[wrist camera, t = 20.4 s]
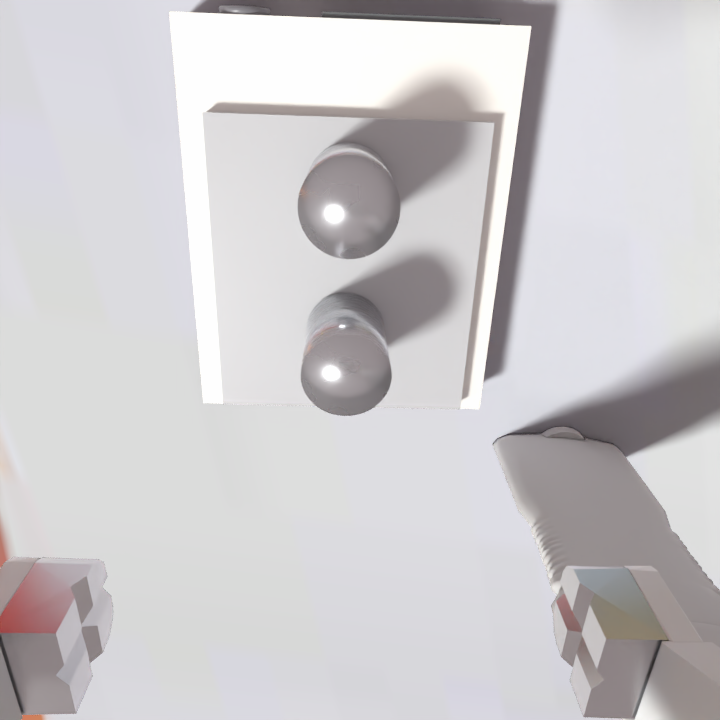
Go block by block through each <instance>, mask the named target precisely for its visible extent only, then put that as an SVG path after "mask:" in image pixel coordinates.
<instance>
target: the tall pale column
mask: <svg viewBox="0 0 720 720" xmlns="http://www.w3.org/2000/svg"><path fill="white" fill-rule="evenodd" d="M493 447H494V450H495V452H496V455H497V457H498V460H499V462H500V465H501V467H502V470H503V473H504V475H505V478H506V481H507V483H508V486H509V488H510V491H511V493H512V496H513V498H514V501H515V503H516V506H517V508H518V511H519V512H520V513H521V515H522V516H523V517H524V518H525V520H526V521H527V522H528V524H529V525H530V526H531V527H532V528H531V533H532V535H533V537H534V539H535V543H536V545H537V546H538V549H539V553H540V555H541V559H542V560H543V564H544V565H545V566H546V571H547V577H548V579H549V580H550V582H549V583H550V586H551V590H552V591H553V592H554V593H555V594H556V595H557V596H556V598H555V600H554V601H553V603H552V605H551V607H552V611H553V613H554V608H555V603H556V600H557V599H559V598H560V597H561V596H562V595H563V594H564V590H563V588H562V585H561V583H560V581H561V577H562V573H563V571H564V569H565V568H566V566H621V567H622V566H652V567H653V568H655V569H656V570H657V571H658V572H659V574H660V576H661V577H662V579H663V580H664V582H665V583H666V585H667V586H668V588H669V590H670V591H671V593H672V594H673V596H674V597H675V599H676V600H677V602H678V604H679V605H680V607H681V608H682V610H683V611H684V613H685V614H686V616H687V618H688V619H689V621H690V622H691V624H692V625H693V627H694V629H695V630H696V632H697V633H698V635H699V636H700V638H701V639H702V641H703V642H712V643H714V644H715V645H717V646H718V647H720V590H719V589H718V588H717V587H716V586H715V585H713V581H712V580H711V579H709V578H708V577H707V574H706V573H705V572H703V571H702V568H701V566H699V565H698V562H697V561H696V560H695V559H694V557H693V556H692V555H690V552H689V551H688V550H687V547H686V546H685V545H684V544H683V542H682V541H681V540H680V538H679V536H678V535H677V534H676V533H674V532H673V531H672V530H671V528H670V525H669V521H668V518H667V515H666V512H665V510H664V509H663V508H662V506H661V505H660V503H659V502H658V501H657V499H656V498H655V496H654V495H653V494H652V492H651V491H650V490H649V488H648V487H647V485H646V484H645V483H644V481H643V480H642V479H641V477H640V476H639V475H638V473H637V472H636V471H635V469H634V468H633V466H632V465H631V464H630V462H629V461H628V460H627V458H626V457H625V455H624V454H623V453H622V451H621V450H620V449H619V448H617V447H616V446H615V445H614V444H611V443H606V442H602V441H598V440H593V439H589V438H585V437H584V438H583V436H582V435H581V434H580V433H579V432H578V431H576V430H575V429H573V428H569V427H554V428H551V429H548V430H546V431H545V432H543V433H534V434H508V435H505V436H503V437H500V438H498V439H497V440H496V441H495V442H494V443H493ZM621 719H622V720H635V719H625V718H621Z"/></svg>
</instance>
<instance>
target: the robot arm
mask: <svg viewBox="0 0 720 720" xmlns="http://www.w3.org/2000/svg"><path fill="white" fill-rule="evenodd" d="M106 578H107V572H106V568H105V564H104V562H103V561H101V560H99V559H73V558H47V557H42V558H30V557H12V558H11V559H9V560H7V561H6V562H5V563H4V564H3V565H2V567H1V568H0V720H21V719H22V715H32V714H33V715H34V714H76V713H77V711H78V708H79V706H80V704H81V702H82V699H83V697H84V695H85V692H86V690H87V688H88V686H89V683H90V681H91V679H92V671H91V666H90V662H92V661H93V660H94V659H95V658H97V657H98V656H99V655H100V654H102V653H103V651H104V649H105V646H106V644H107V641H108V639H109V635H110V631H111V626H112V621H113V603H112V598H111V595H110V594H109V593H108V592H107V591H106V590H105V589H104V588H102V587H103V584H104V582H105V580H106ZM560 583H561V585H562V588H563V590H564V594H563V595H562V596H561V597H560V598H559V599H557V600H556V603H555V608H554V613H553V625H554V635H555V639H556V644H557V647H558V650H559V652H560V655H561V657H562V658H563V659H564V660H565V661H566V662H567V663H569V664H570V665H571V666H572V667H573V669H572V673H571V677H570V683H571V685H572V688H573V691H574V693H575V696H576V698H577V701H578V704H579V706H580V709H581V712H582V714H583V717H598V718H625V719H635V720H720V647H718V646H717V645H715V644H714V643H712V642H703V641H702V639H701V638H700V636H699V635H698V633H697V632H696V630H695V629H694V627H693V625H692V624H691V622H690V621H689V619H688V618H687V616H686V614H685V613H684V611H683V610H682V608H681V607H680V605H679V604H678V602H677V600H676V599H675V597H674V596H673V594H672V593H671V591H670V590H669V588H668V586H667V585H666V583H665V582H664V580H663V579H662V577H661V576H660V574H659V572H658V571H657V570H656V569H655V568H653V567H652V566H622V567H621V566H566V568H565V569H564V571H563V573H562V577H561V581H560Z"/></svg>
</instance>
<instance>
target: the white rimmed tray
mask: <svg viewBox="0 0 720 720" xmlns="http://www.w3.org/2000/svg"><path fill="white" fill-rule="evenodd" d="M169 16H170V27H171V39H172V50H173V62H174V73H175V85H176V96H177V108H178V119H179V130H180V142H181V153H182V165H183V176H184V188H185V199H186V211H187V222H188V233H189V245H190V256H191V268H192V279H193V291H194V302H195V314H196V325H197V337H198V348H199V359H200V371H201V382H202V394H203V403H223V404H238V405H282V406H316V405H315V404H313V403H312V402H311V401H310V400H309V398H308V397H307V395H306V394H305V392H304V390H303V387H302V383H301V366H302V358H303V350H304V342H305V334H306V326H307V321H308V317H309V315H310V313H311V311H312V309H313V308H314V307H315V306H316V305H317V304H318V303H319V302H320V301H321V300H322V299H324V298H326V297H328V296H330V295H333V294H337V293H353V294H357V295H360V296H363V297H365V298H366V299H368V300H369V301H371V302H372V303H373V304H374V305H375V306H376V307H377V309H378V310H379V312H380V314H381V316H382V319H383V323H384V329H385V335H386V341H387V347H388V353H389V359H390V365H391V371H392V379H391V385H390V388H389V390H388V392H387V394H386V396H385V397H384V398H383V400H382V401H381V402H380V403H379V404H377V405H376V406H375V407H373V408H416V409H480V402H481V395H482V387H483V380H484V373H485V365H486V358H487V350H488V343H489V336H490V328H491V321H492V314H493V306H494V299H495V292H496V284H497V277H498V270H499V262H500V255H501V247H502V240H503V233H504V225H505V218H506V211H507V203H508V196H509V189H510V181H511V174H512V166H513V159H514V152H515V144H516V137H517V130H518V122H519V115H520V108H521V100H522V93H523V85H524V78H525V71H526V63H527V56H528V49H529V41H530V34H531V27H532V26H516V25H500V21H501V19H493V18H469V17H444V16H420V15H395V14H371V13H346V12H322V18H319V17H294V16H270V9H269V8H264V7H257V6H246V5H222V6H219V13H195V12H170V11H169ZM343 142H355V143H360V144H363V145H366V146H368V147H370V148H371V149H373V150H374V151H375V152H377V153H378V154H379V155H380V156H381V157H382V159H383V160H384V161H385V163H386V165H387V167H388V169H389V171H390V173H391V176H392V178H393V180H394V182H395V185H396V187H397V190H398V193H399V197H400V218H399V222H398V225H397V227H396V230H395V232H394V233H393V235H392V237H391V238H390V239H389V241H388V242H387V243H386V244H385V245H384V246H383V247H382V248H380V249H379V250H378V251H376V252H374V253H373V254H371V255H368V256H366V257H362V258H358V259H341V258H336V257H333V256H330V255H328V254H326V253H324V252H322V251H321V250H319V249H318V248H317V247H316V246H314V245H313V244H312V243H311V241H310V240H309V239H308V238H307V236H306V235H305V233H304V231H303V229H302V227H301V224H300V221H299V216H298V197H299V193H300V190H301V187H302V185H303V182H304V180H305V178H306V176H307V174H308V171H309V169H310V167H311V165H312V163H313V162H314V160H315V159H316V157H317V156H318V155H319V154H320V153H321V152H322V151H324V150H325V149H327V148H328V147H330V146H332V145H335V144H338V143H343Z"/></svg>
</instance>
